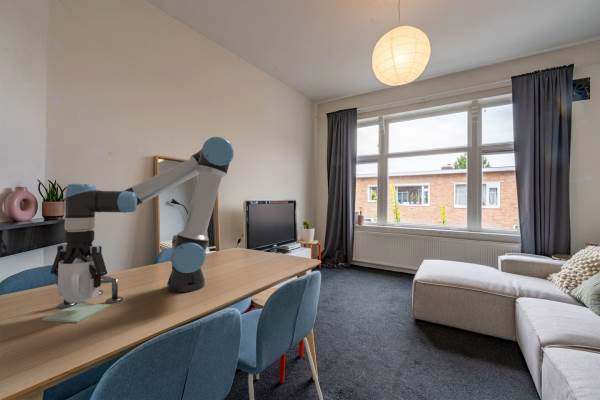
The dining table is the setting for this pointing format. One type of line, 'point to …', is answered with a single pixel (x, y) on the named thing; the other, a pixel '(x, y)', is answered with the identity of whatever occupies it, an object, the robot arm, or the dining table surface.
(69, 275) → the mug
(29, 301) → the dining table surface
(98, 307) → the pad
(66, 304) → the small metal rack
